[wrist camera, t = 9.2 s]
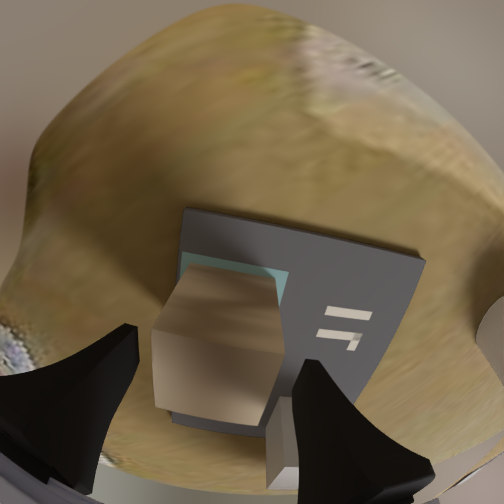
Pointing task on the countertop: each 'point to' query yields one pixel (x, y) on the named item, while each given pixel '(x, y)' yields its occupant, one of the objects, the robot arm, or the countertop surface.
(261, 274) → the mat
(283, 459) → the grey block
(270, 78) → the countertop surface
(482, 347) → the white tapered cylinder
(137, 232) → the countertop surface
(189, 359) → the maple block
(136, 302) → the countertop surface
